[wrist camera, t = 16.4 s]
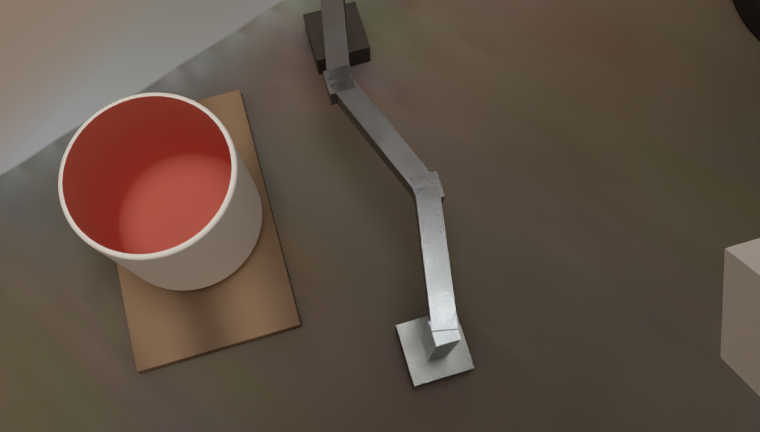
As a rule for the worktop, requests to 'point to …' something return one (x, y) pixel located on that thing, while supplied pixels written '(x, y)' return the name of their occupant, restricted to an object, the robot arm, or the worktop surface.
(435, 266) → the jointed metal bar
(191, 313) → the walnut board
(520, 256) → the worktop surface
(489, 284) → the worktop surface
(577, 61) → the worktop surface
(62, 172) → the cup
